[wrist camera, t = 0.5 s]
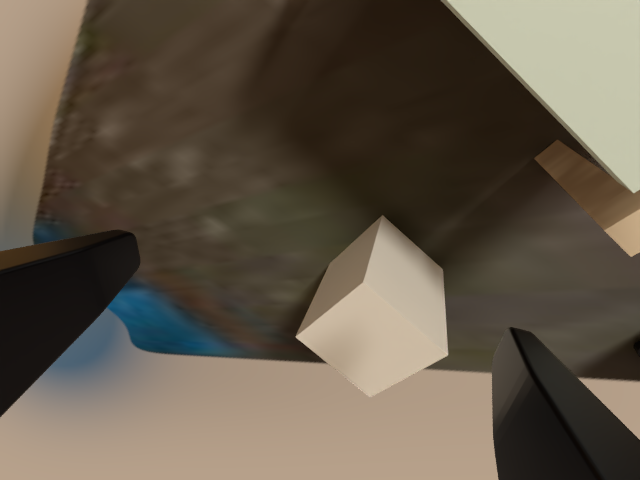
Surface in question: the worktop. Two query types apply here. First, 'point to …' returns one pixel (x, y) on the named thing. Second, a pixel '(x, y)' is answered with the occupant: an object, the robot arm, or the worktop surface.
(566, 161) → the frame
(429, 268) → the stone block
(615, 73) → the trapdoor
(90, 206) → the worktop surface
